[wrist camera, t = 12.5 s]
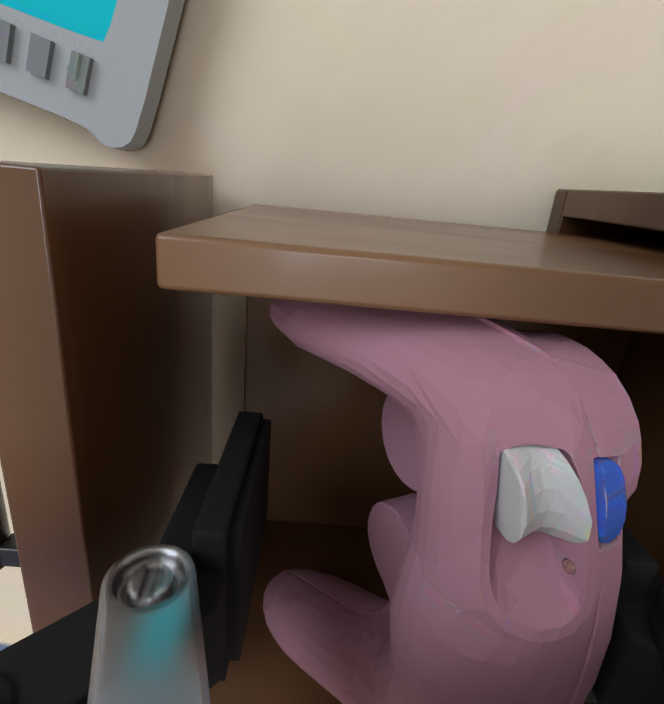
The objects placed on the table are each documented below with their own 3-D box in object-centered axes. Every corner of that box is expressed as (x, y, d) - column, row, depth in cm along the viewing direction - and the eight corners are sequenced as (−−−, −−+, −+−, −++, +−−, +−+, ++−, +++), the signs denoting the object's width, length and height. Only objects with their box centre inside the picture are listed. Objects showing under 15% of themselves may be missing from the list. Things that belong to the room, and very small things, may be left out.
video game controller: (387, 557, 15) (567, 814, 9) (252, 602, 13) (372, 961, 7) (434, 257, 11) (786, 374, 6) (255, 260, 9) (505, 443, 4)
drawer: (75, 516, 18) (-132, 786, 10) (29, 157, 14) (-423, 121, 6) (556, 552, 19) (727, 835, 11) (668, 219, 14) (1120, 271, 6)
